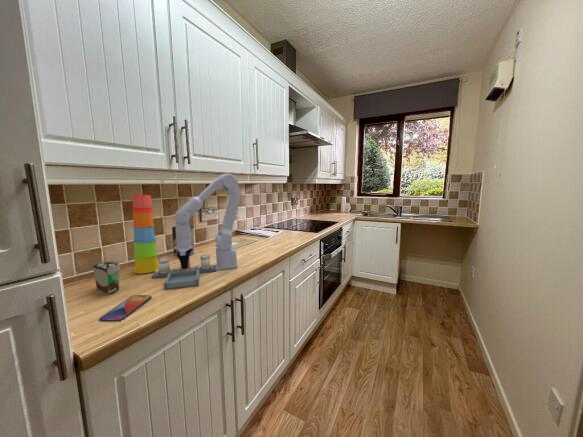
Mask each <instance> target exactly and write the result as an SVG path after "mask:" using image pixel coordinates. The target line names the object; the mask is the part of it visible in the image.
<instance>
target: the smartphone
mask: <svg viewBox="0 0 583 437" xmlns="http://www.w3.org/2000/svg"><path fill="white" fill-rule="evenodd" d="M152 297H153V296H152V295H150V294H149V295H146V294H145V295H143V294H134V295H131V296H130V297H128V298H126V299H125V300H124V301H122V302H121V303H119V304H118V305H116V306H115V307H113V308H112V309H111V310H108V311H107V312H105V313H104V314H103V315H101V316H100V317H99V318H98V320H99V322H110V321H120V322H122V321H121V320H123V321H125V320H126V319H127V318H128V317H130V316H131V315H132V314H134V313H135V312H136V311H137V310H139V309H140V308H142V307H143V306H144V305H145V304H146V303H148V302H149V301H150V300H152V299H153V298H152ZM129 315H130V316H129ZM126 317H127V318H126ZM125 318H126V319H125Z"/></svg>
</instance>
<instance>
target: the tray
mask: <svg viewBox="0 0 583 437" xmlns="http://www.w3.org/2000/svg"><path fill="white" fill-rule="evenodd" d="M200 275H201V273H199V269H196V270H187V271H177V272H169V273H168V276H167V277H165V281H164V283H163V285H164V288H163V289H164V291H166V290H167V291H168V290H175V289H183V288H191V287H199V283H200Z"/></svg>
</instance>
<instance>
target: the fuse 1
mask: <svg viewBox="0 0 583 437" xmlns="http://www.w3.org/2000/svg"><path fill="white" fill-rule="evenodd" d="M157 261H158V266H159V269H158V270H159V273H160V274H168V273H169V272H170V269H171V267H170V260H169V258H168V257H164V258H159V259H157Z"/></svg>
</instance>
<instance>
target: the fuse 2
mask: <svg viewBox="0 0 583 437" xmlns="http://www.w3.org/2000/svg"><path fill="white" fill-rule="evenodd" d="M210 257H211V256H210V254H202V255H200V258H199V259H200V266H201V270H208V269H210V265H211V259H210Z"/></svg>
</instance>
